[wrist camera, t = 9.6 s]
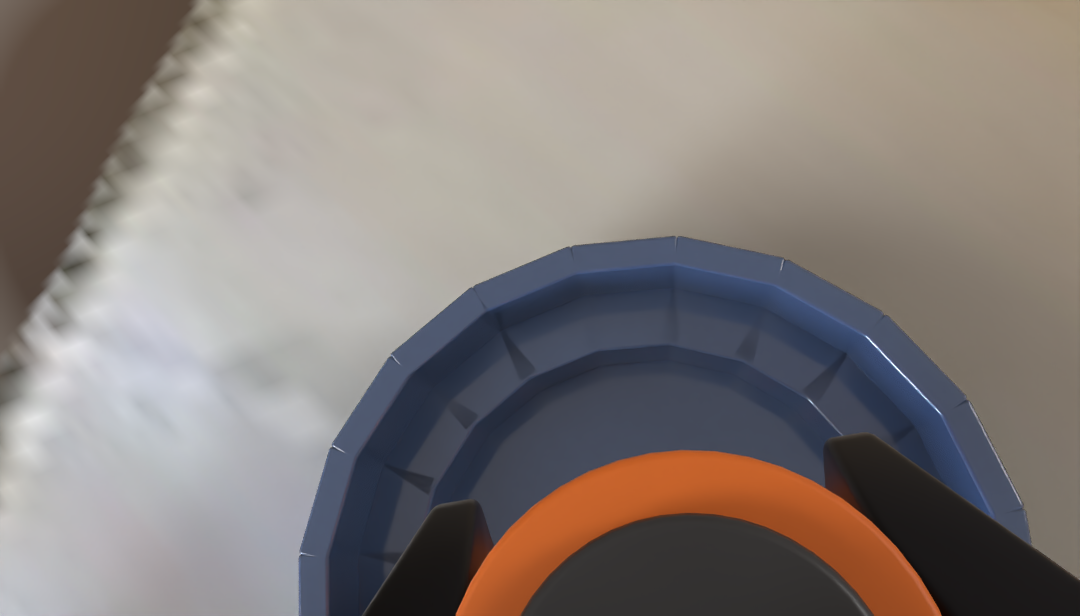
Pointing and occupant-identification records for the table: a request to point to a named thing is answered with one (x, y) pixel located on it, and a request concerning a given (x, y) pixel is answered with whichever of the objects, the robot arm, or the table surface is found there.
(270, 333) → the table surface
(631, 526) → the screwdriver
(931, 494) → the robot arm
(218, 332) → the table surface
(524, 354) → the bowl
